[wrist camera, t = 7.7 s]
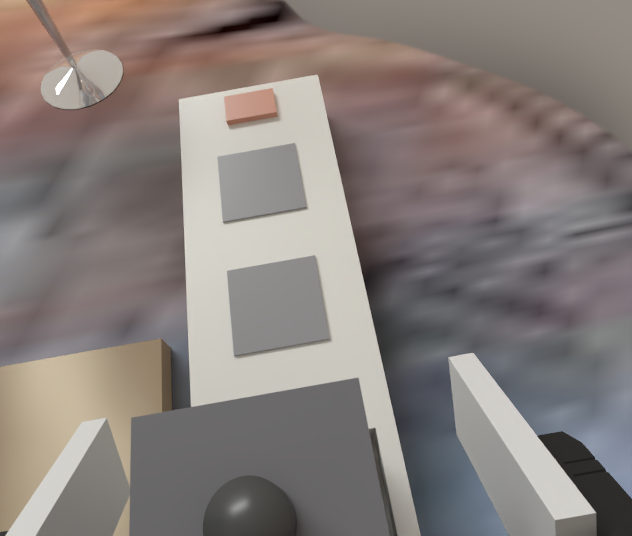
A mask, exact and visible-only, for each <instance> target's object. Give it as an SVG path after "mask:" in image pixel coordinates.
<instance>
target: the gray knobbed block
mask: <svg viewBox="0 0 632 536" xmlns="http://www.w3.org/2000/svg"><path fill="white" fill-rule="evenodd" d="M129 536H390V534H389V529H388V524H387V519H386V514H385V509H384V504H383V499H382V494H381V489H380V484H379V479H378V474H377V469H376V463H375V458H374V453H373V448H372V443H371V438H370V433H369V428H368V423H367V418H366V413H365V408H364V403H363V398H362V393H361V388H360V383H359V378H353V379H347V380H341V381H336V382H330V383H324V384H319V385H313V386H307V387H302V388H296V389H291V390H285V391H279V392H274V393H268V394H262V395H257V396H251V397H245V398H240V399H234V400H228V401H223V402H217V403H211V404H206V405H200V406H194V407H189V408H183V409H177V410H172V411H166V412H161V413H155V414H149V415H144V416H138V417H132V418H131V458H130V521H129Z"/></svg>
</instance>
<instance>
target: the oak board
mask: <svg viewBox="0 0 632 536" xmlns="http://www.w3.org/2000/svg"><path fill="white" fill-rule="evenodd" d="M166 411H172V379H171V348H170V347H169V346H168V345H167V344H166V343H165V342H164V341H163V340H162V339H155V340H150V341H144V342H138V343H133V344H127V345H121V346H116V347H110V348H104V349H99V350H93V351H87V352H82V353H76V354H70V355H65V356H59V357H54V358H48V359H42V360H37V361H31V362H25V363H20V364H14V365H8V366H3V367H0V532H3V531H8V530H10V528H11V527H12V525H13V524H14V522H15V521H16V519H17V518H18V516H19V515H20V513H21V512H22V510H23V509H24V507H25V506H26V504H27V503H28V501H29V500H30V498H31V497H32V495H33V494H34V492H35V491H36V490H37V488H38V487H39V485H40V484H41V482H42V481H43V479H44V478H45V476H46V475H47V473H48V472H49V470H50V469H51V467H52V466H53V464H54V463H55V461H56V460H57V458H58V457H59V455H60V454H61V452H62V451H63V450H64V448H65V447H66V445H67V444H68V442H69V441H70V439H71V438H72V436H73V435H74V433H75V432H76V430H77V429H78V427H79V426H80V424H81V423H82V422H85V421H91V420H96V419H102V418H107V420H108V423H109V426H110V429H111V432H112V435H113V438H114V441H115V444H116V447H117V450H118V453H119V456H120V459H121V462H122V465H123V468H124V472H125V475H126V478H127V481H128V484H129V487H130V458H131V418H132V417H138V416H144V415H149V414H155V413H161V412H166ZM129 521H130V496H129V498H128V500H127V503H126V505H125V507H124V510H123V512H122V515H121V517H120V519H119V522H118V524H117V526H116V529H115V531H114V534H113V536H129Z"/></svg>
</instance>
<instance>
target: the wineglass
mask: <svg viewBox="0 0 632 536" xmlns="http://www.w3.org/2000/svg"><path fill="white" fill-rule="evenodd" d="M26 1H27V2H28V4H29V5H30V7H31V8H32V10H33V11H34V13H35V14H36V16H37V17H38V19H39V20H40V22H41V23H42V25H43V26H44V27H45V29H46V30H47V32H48V33H49V35H50V36H51V38H52V39H53V41H54V42H55V44H56V45H57V47H58V48H59V50H60V51H61V53H62V54H63V56H64V58H62V59H61V60H60V61H58V62H57V63H56V64H54V65H53V66H52V67H51V68H50V69H49V70H48V72H47V73H46V74H45V76H44V78H43V80H42V83H41V94H42V96H43V98H44V99H45V101H46V102H48V103H49V104H51V105H52V106H54V107H58V108H61V109H79V108H83V107H87V106H91V105H93V104H95V103H97V102H99V101H101V100H103V99H104V98H105V97H107V96H108V95H109V94H110V93H112V92H113V91H114V89H115V88H116V87H117V85H118V84H119V83H120V81H121V78H122V75H123V67H122V63H121V62H120V60H119V59H118V57H117V56H115V55H114V54H112V53H110V52H108V51H103V50H84V51H80V52H76V53H73V54H71V52H70V50H69V48H68V46H67V45H66V43H65V41H64V39H63V37H62V35H61V34H60V32H59V30H58V28H57V26H56V24H55V23H54V21H53V19H52V17H51V15H50V13H49V12H48V10H47V8H46V6H45V4H44V2H43V1H42V0H26Z"/></svg>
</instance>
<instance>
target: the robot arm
mask: <svg viewBox="0 0 632 536" xmlns="http://www.w3.org/2000/svg"><path fill="white" fill-rule="evenodd" d="M448 358H449V368H450V377H451V387H452V396H453V406H454V415H455V425H456V434H457V436H458V438H459V440H460V442H461V444H462V446H463V448H464V450H465V451H466V453H467V455H468V457H469V459H470V461H471V463H472V465H473V467H474V469H475V471H476V473H477V474H478V476H479V478H480V480H481V482H482V484H483V486H484V488H485V490H486V492H487V494H488V496H489V497H490V499H491V501H492V503H493V505H494V507H495V509H496V511H497V513H498V515H499V517H500V519H501V520H502V522H503V524H504V526H505V528H506V530H507V532H508V534H509V536H632V499H631V497H630V496H629V495H628V494H627V493H626V492H625V491H624V490H623V488H622V487H621V486H620V485H619V484H618V483H617V482H616V481H615V479H614V478H613V477H612V476H611V475H610V474H609V473H608V472H606V470H605V468H604V467H603V466H602V465H601V464H600V463H599V461H598V460H595V457H594V456H593V455H592V454H591V452H590V451H589V450H588V449H587V448H586V447H585V446H584V445H583V443H582V442H580V441H578V440H576V439H575V438H573V437H571V436H569V435H568V434H566V433H564V432H562V431H561V432H556V433H550V434H544V435H539V436H537V435H536V434H535V433H534V431H533V430H532V429H531V427H530V426H529V425H528V424H527V422H526V421H525V420H524V418H523V417H522V416H521V414H520V413H519V412H518V411H517V409H516V408H515V407H514V405H513V404H512V403H511V401H510V400H509V399H508V398H507V396H506V395H505V394H504V392H503V391H502V390H501V388H500V387H499V386H498V385H497V383H496V382H495V381H494V379H493V378H492V377H491V375H490V374H489V373H488V372H487V370H486V369H485V368H484V366H483V365H482V364H481V362H480V361H479V360H478V359H477V357H476V356H475V355H474V353H470V354H464V355H458V356H453V357H448ZM129 496H130V487H129V484H128V481H127V478H126V475H125V472H124V468H123V465H122V462H121V459H120V456H119V453H118V450H117V447H116V444H115V441H114V438H113V435H112V432H111V429H110V426H109V423H108V420H107V418H102V419H96V420H91V421H85V422H82V423H81V424H80V426H79V427H78V429H77V430H76V432H75V433H74V435H73V436H72V438H71V439H70V441H69V442H68V444H67V445H66V447H65V448H64V450H63V451H62V452H61V454H60V455H59V457H58V458H57V460H56V461H55V463H54V464H53V466H52V467H51V469H50V470H49V472H48V473H47V475H46V476H45V478H44V479H43V481H42V482H41V484H40V485H39V487H38V488H37V490H36V491H35V492H34V494H33V495H32V497H31V498H30V500H29V501H28V503H27V504H26V506H25V507H24V509H23V510H22V512H21V513H20V515H19V516H18V518H17V519H16V521H15V522H14V524H13V525H12V527H11V528H10V530H8V531H3V532H0V536H113V534H114V531H115V529H116V526H117V524H118V522H119V519H120V517H121V515H122V512H123V510H124V507H125V505H126V503H127V500H128V498H129Z"/></svg>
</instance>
